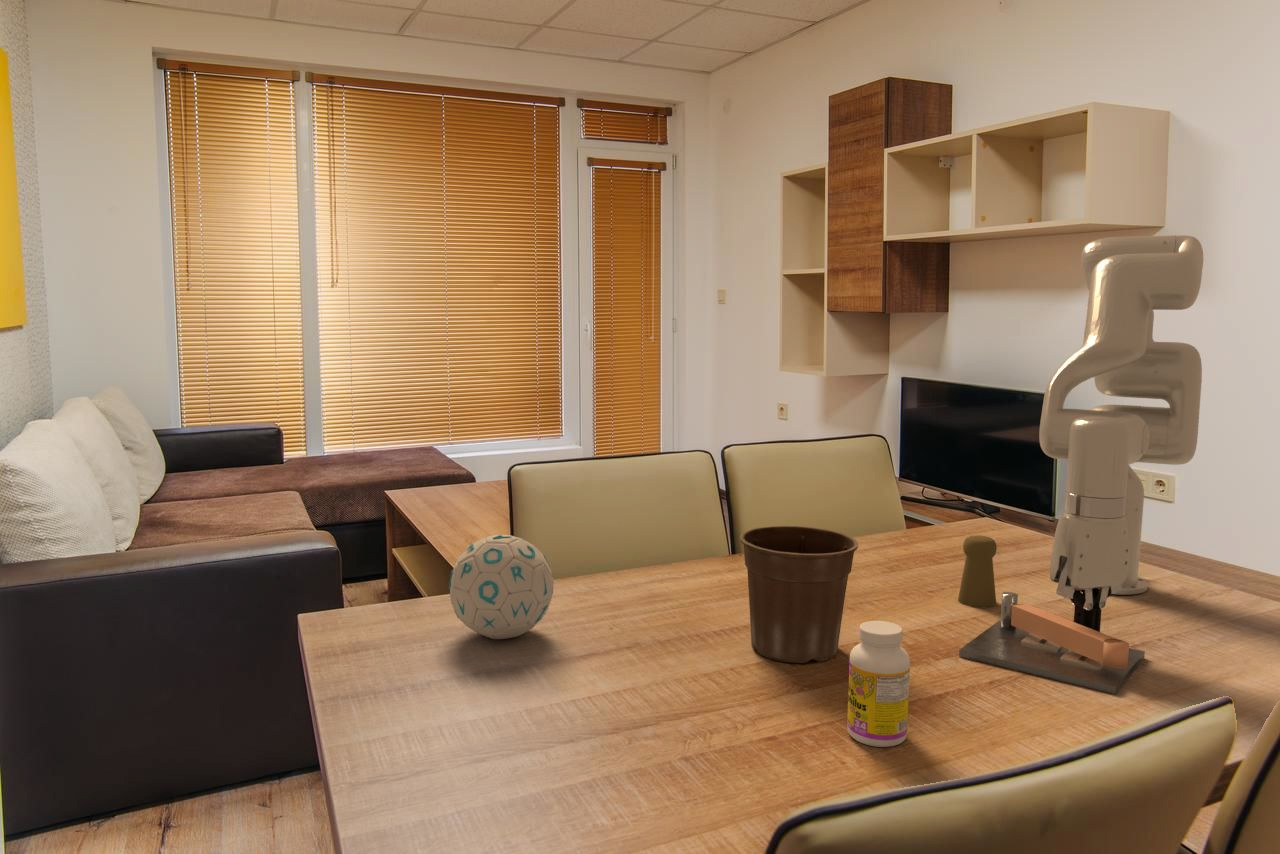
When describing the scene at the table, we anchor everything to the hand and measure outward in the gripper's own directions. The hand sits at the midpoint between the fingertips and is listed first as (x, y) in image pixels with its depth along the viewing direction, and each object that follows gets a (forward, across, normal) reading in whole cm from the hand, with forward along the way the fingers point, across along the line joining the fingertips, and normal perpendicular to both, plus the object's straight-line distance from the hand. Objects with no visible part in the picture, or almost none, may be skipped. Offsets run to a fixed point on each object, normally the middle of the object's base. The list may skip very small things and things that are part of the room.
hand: (1086, 633), depth 134 cm
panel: (+3, +6, 0) cm, 7 cm away
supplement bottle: (+3, +43, +12) cm, 45 cm away
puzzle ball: (+3, +76, -35) cm, 83 cm away
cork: (+3, -1, -24) cm, 24 cm away
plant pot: (+3, +38, -15) cm, 41 cm away
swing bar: (+1, +4, +1) cm, 5 cm away
